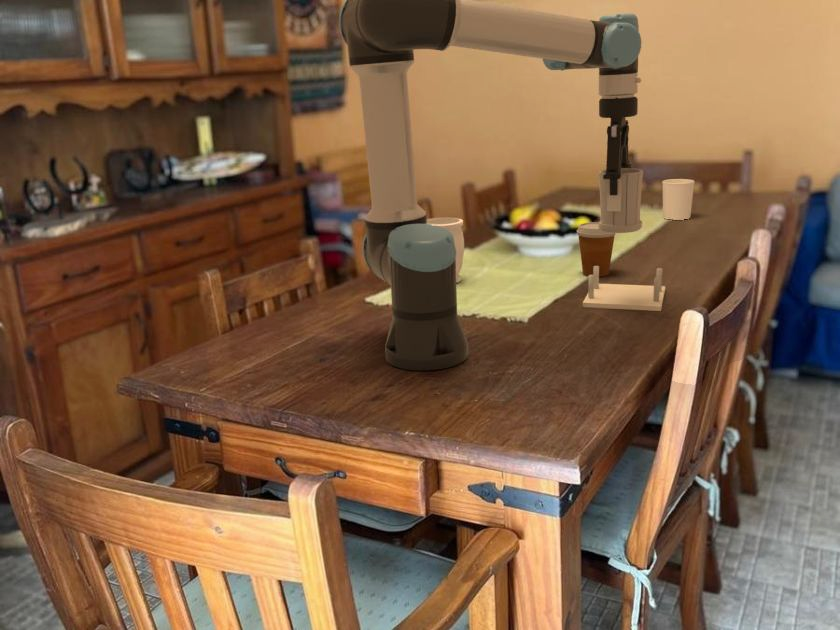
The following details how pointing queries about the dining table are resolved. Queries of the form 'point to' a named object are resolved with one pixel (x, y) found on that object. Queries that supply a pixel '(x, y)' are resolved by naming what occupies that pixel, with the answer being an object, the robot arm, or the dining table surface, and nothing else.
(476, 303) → the dining table surface
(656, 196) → the dining table surface
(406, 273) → the robot arm
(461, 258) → the jar
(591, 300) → the beige flat pegged board
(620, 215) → the cup
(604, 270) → the disposable coffee cup
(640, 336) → the dining table surface
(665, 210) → the candle holder
